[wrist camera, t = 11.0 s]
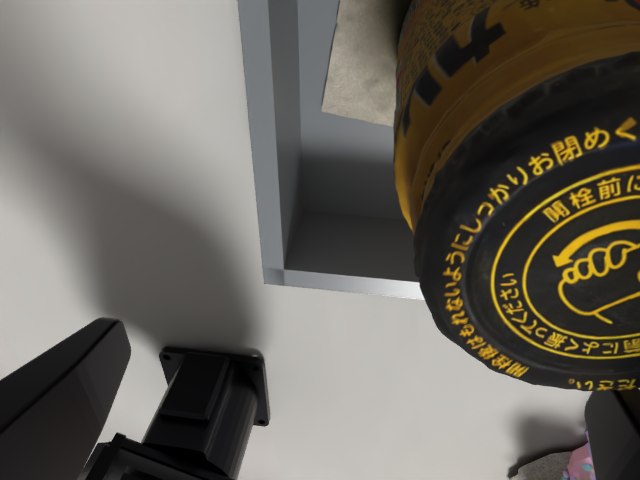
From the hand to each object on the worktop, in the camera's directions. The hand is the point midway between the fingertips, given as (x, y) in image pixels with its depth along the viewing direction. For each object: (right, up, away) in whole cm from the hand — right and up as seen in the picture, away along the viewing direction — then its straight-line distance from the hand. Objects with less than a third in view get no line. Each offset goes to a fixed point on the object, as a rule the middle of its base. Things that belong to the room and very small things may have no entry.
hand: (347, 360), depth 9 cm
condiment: (+4, +9, +7) cm, 12 cm away
